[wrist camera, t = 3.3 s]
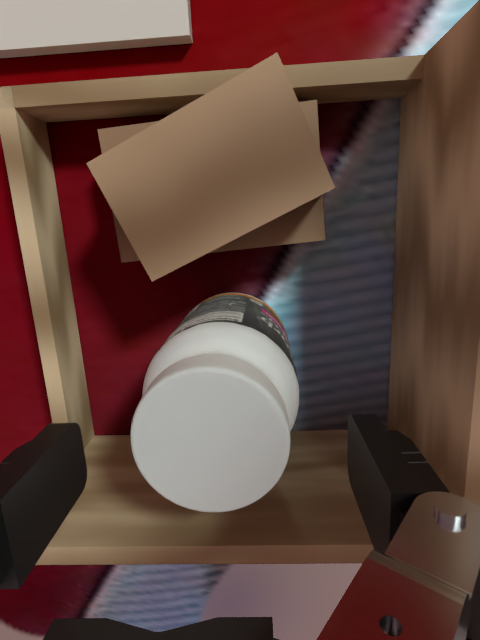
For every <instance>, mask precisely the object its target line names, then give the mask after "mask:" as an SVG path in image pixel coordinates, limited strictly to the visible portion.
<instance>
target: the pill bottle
mask: <svg viewBox="0 0 480 640" xmlns="http://www.w3.org/2000/svg"><path fill="white" fill-rule="evenodd" d="M298 407H299V385H298V379H297V374H296V370H295V367H294V363H293V358H292V354H291V350H290V345H289V342H288V337H287V334H286V331H285V328H284V326H283V323H282V322H281V320H280V318H279V317H278V315H277V314H276V313H275V311H274V310H273V309H272V308H271V307H270V306H268V305H267V304H266V303H264V302H263V301H261V300H259V299H258V298H255V297H253V296H251V295H247V294H243V293H223V294H218V295H215V296H212V297H210V298H208V299H206V300H204V301H202V302H201V303H199V304H198V305H197V306H196V307H195V308H193V309H192V310H191V311H190V312H189V313H188V315H187V316H186V317H185V318H184V320H183V321H182V322H181V323H180V325H179V326H178V327H177V328H176V329H175V331H174V332H173V333H172V334H171V335H170V336H169V337H168V339H167V340H166V342H165V343H164V344H163V346H162V347H161V348H160V349H159V351H158V352H157V353H156V355H155V356H154V357H153V359H152V360H151V363H150V365H149V367H148V369H147V372H146V376H145V379H144V384H143V392H142V399H141V400H140V402H139V404H138V406H137V408H136V410H135V413H134V415H133V419H132V423H131V433H130V436H131V448H132V453H133V457H134V460H135V462H136V465H137V467H138V469H139V470H140V472H141V474H142V476H143V477H144V478H145V479H146V481H147V482H148V483H149V484H150V486H151V487H153V488H154V489H155V490H156V491H157V492H158V493H159V494H161V495H162V496H163V497H165V498H166V499H168V500H170V501H171V502H173V503H175V504H177V505H180V506H182V507H185V508H188V509H191V510H196V511H200V512H226V511H232V510H236V509H239V508H242V507H245V506H248V505H250V504H252V503H253V502H255V501H257V500H259V499H260V498H261V497H263V496H264V495H265V494H266V493H267V492H269V491H270V490H271V489H272V488H273V487H274V485H275V484H276V483H277V482H278V480H279V479H280V477H281V475H282V473H283V471H284V469H285V467H286V464H287V461H288V458H289V452H290V442H291V440H290V432H291V430H292V428H293V425H294V423H295V420H296V417H297V413H298Z"/></svg>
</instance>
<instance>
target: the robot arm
mask: <svg viewBox="0 0 480 640" xmlns="http://www.w3.org/2000/svg"><path fill="white" fill-rule="evenodd" d="M347 466H348V475H349V481H350V485H351V488H352V491H353V493H354V496H355V499H356V502H357V504H358V507H359V510H360V512H361V515H362V518H363V521H364V523H365V526H366V529H367V532H368V534H369V537H370V540H371V542H372V545H373V548H374V550H372V551H371V552H370V553H369V554H368V556H367V557H366V559H365V561H364V562H363V564H362V566H361V567H360V569H359V571H358V572H357V574H356V576H355V577H354V579H353V580H352V582H351V584H350V585H349V587H348V589H347V590H346V592H345V594H344V595H343V597H342V599H341V600H340V602H339V604H338V605H337V607H336V609H335V610H334V612H333V613H332V615H331V617H330V619H329V620H328V622H327V623H326V625H325V627H324V628H323V630H322V632H321V633H320V635H319V637H318V638H317V640H480V507H479V506H477V505H476V504H474V503H473V502H471V501H470V500H468V499H466V498H463V497H461V496H458V495H455V494H452V493H450V492H449V490H448V489H447V488H446V486H445V485H444V484H443V482H442V481H441V479H440V478H439V477H438V475H437V474H436V473H435V471H434V470H433V468H432V467H431V466H430V464H429V463H427V460H426V459H425V458H424V456H423V455H422V453H420V451H419V449H418V448H417V447H416V445H415V444H414V442H413V441H412V440H411V439H410V438H408V437H407V436H405V435H403V434H402V433H400V432H399V431H397V430H388V431H387V430H386V428H385V427H384V425H383V424H382V422H381V420H380V419H379V417H378V416H377V414H350V415H349V417H348V448H347ZM86 481H87V465H86V459H85V453H84V447H83V440H82V434H81V429H80V426H79V425H78V424H77V423H51V424H49V425H47V426H46V427H45V428H44V429H43V430H42V431H41V432H40V433H39V434H38V435H37V436H36V437H35V438H34V439H33V440H32V441H29V442H27V443H26V444H24V445H22V446H20V447H19V448H17V449H15V450H14V451H12V452H11V453H10V454H9V455H8V456H7V457H6V458H5V459H4V460H3V461H2V463H1V464H0V589H20V587H21V586H22V584H23V583H24V581H25V580H26V578H27V577H28V575H29V574H30V572H31V570H32V569H33V567H34V566H35V564H36V563H37V561H38V560H39V558H40V557H41V555H42V554H43V552H44V551H45V549H46V547H47V546H48V544H49V543H50V541H51V540H52V538H53V537H54V535H55V534H56V532H57V531H58V529H59V527H60V526H61V524H62V523H63V521H64V520H65V518H66V517H67V515H68V514H69V512H70V511H71V509H72V508H73V506H74V504H75V503H76V501H77V500H78V498H79V497H80V495H81V494H82V492H83V490H84V488H85V485H86ZM43 640H279V639H275V638H273V624H272V617H221V618H219V617H218V618H214V619H210V620H206V621H202V622H198V623H194V624H190V625H187V626H183V627H179V628H175V629H171V630H167V631H163V632H153V631H149V630H146V629H142V628H139V627H135V626H132V625H128V624H125V623H121V622H118V621H114V620H111V619H107V618H74V619H54V620H53V621H52V623H51V625H50V627H49V629H48V631H47V633H46V635H45V637H44V639H43Z"/></svg>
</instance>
